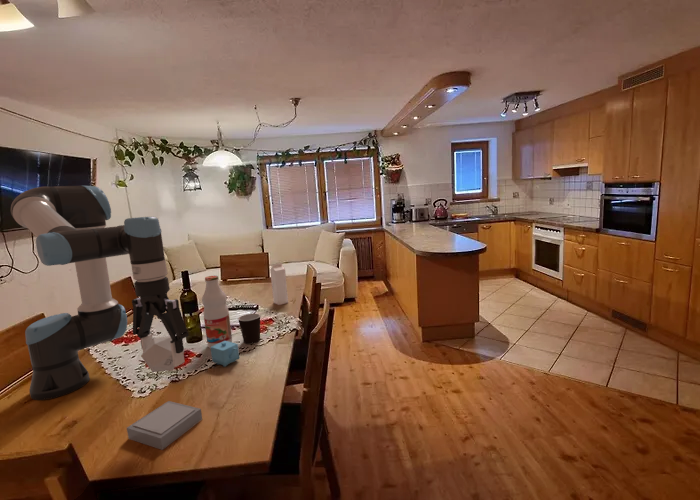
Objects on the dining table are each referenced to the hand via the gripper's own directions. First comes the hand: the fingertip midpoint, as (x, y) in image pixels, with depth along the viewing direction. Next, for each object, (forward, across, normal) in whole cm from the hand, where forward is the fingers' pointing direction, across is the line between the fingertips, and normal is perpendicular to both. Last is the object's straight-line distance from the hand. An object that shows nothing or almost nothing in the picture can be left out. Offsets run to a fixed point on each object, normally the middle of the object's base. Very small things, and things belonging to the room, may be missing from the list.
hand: (164, 362), depth 92 cm
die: (+2, 0, 0) cm, 2 cm away
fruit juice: (+16, -23, +43) cm, 51 cm away
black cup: (+16, -13, +51) cm, 55 cm away
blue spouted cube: (+16, -9, +31) cm, 36 cm away
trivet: (+16, +2, -4) cm, 17 cm away
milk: (+16, -30, +97) cm, 103 cm away
